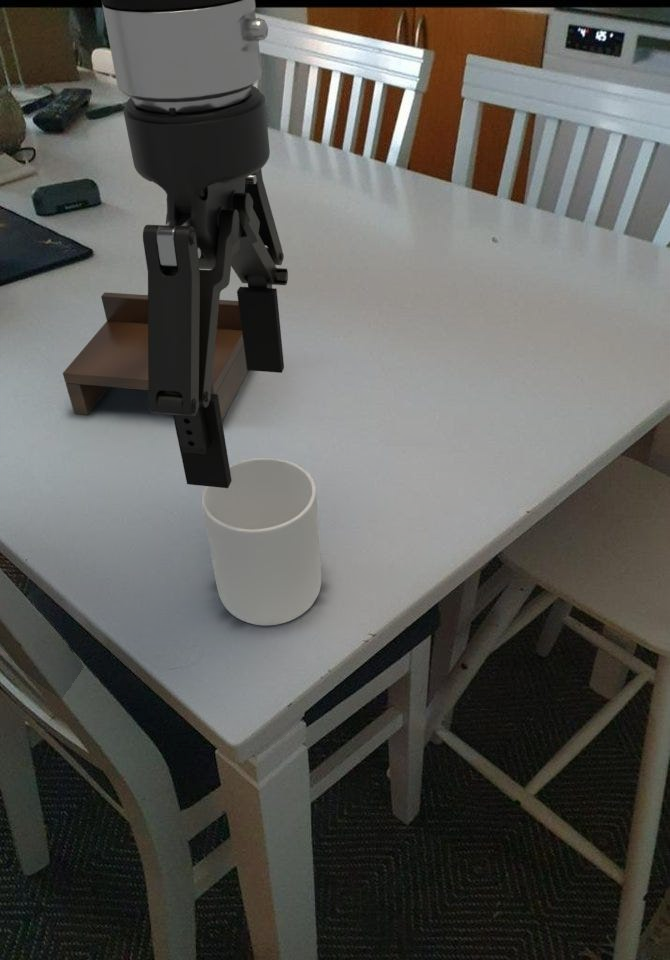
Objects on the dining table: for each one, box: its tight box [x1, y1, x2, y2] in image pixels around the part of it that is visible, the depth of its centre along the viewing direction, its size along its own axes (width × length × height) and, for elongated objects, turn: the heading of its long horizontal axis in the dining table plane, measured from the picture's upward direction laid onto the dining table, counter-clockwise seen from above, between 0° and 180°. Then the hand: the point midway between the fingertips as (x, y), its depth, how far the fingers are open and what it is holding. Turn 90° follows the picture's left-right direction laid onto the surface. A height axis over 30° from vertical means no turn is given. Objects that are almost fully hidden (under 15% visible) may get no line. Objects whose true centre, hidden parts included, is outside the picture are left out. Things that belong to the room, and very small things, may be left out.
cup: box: [200, 457, 322, 626], centre depth 63 cm, size 8×12×10 cm
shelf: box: [62, 292, 249, 421], centre depth 86 cm, size 16×12×8 cm
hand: (240, 421), depth 56 cm, fingers open, 13 cm apart
